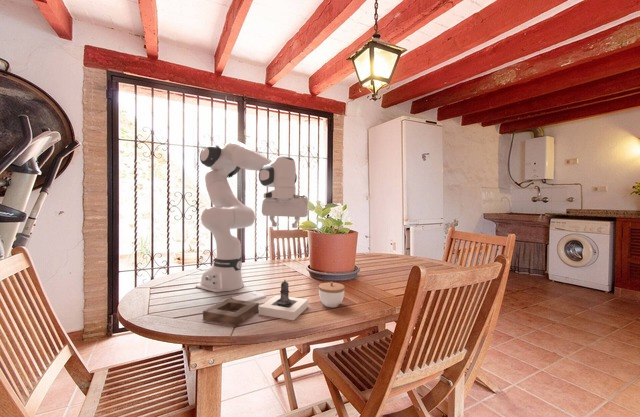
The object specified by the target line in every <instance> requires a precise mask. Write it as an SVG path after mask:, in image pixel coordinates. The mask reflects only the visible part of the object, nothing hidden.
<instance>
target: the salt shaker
mask: <svg viewBox="0 0 640 417" xmlns="http://www.w3.org/2000/svg"><path fill="white" fill-rule="evenodd" d="M283 280H284V281H282V282H281V283H280V291H279V292H280V296H281V298H280V299H279V300H277V303H278V306H281V307H287V308H290V306H291V303H292V300H290V299H289V297H290V296H289V294H290V291H289V290H290V289H289V283H288V281H286V279H283Z"/></svg>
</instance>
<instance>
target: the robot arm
mask: <svg viewBox="0 0 640 417" xmlns="http://www.w3.org/2000/svg"><path fill="white" fill-rule="evenodd" d="M199 161H200V163H201V164H202V165H204V166H205V167H208V168H210V170H209V171H207V172H206V173H205V177H204V180H205V187H206V190H207V194H208V196H209V200H210V202H211V203H212V205H214V206H210V207H206V208H204V210H203V211H202V213H201V217H200V221H201V224H202V225H203V227H205V229H207V230H208V231H210V233H211V234H212V235H213V238H214V239H215V246H216V257H215V258H214V259H212V260H211V262H212V264H213V265H212V266H211V267H209V268H208V269H207V270H205V271H204V272H203V273H202V276H201V279H200V280H201V281H198V283H196V284H195V288H198V289H202V290H205V291H206V290H207V291H209V292H213V293H221V292H227V291H228V292H230V291H235V290H239V289H240V290H241V289H242V288H244V286H245V285H244V282H243V274H242V266H243V265H242V264H243V263H242V261H243V259H242V255H241V254H242V249H241V248H242V242H241V241H240V239H239V238H238V237H236V236H235V235H232V233H231V229H232V230H236V229H238V230H239V229H246V228H248V227H251V226H252V225H253V224H254V222H255V220H256V214H255V211H254V209H253V208H251V207H249V206H248V205H245V204H243V203H242V201H240V200H239V199H238V198H237V197H236V195H235V194H234V193H233V191H232V189H231V186H230V184H229V181H228V179H229V178H232V177H233V176H235V175H237V174H238V173H239V172H240V170H241V169H243V170H248V171H256V172H257V171H258V180H259V182H260V184H261V185H262V186H264V187H267V188H274V189H273V190H270V191H267V192H265V193H264V194H263V198H264V199H263V200H262V204H261V214H262V215H263V216H267V217H269V220H270V221H271V227H272V228H273V227H275V228H277V227H278V222H277V221H275V217H286V218H287V217H288V218H289V217H292V218H294V220H295V221H294V222H292V224H291V228H293V229H296V228H297V227H298V222H300V218H307V216H308V215H309V212H308V211H309V210H308V209H309V208H308V203H309V199H308V197H307V196H306V195H305V194H296V183H297V178H298V177H297V168H296V162H295V159H294V158H292V157H288V156H283V155H279V156H276V157H275V159H274V160H271V159H268V158H267V157H265V156H263V155H262V154H260V153H259V152H257V151H256V150H254V149H252V148H251V147H250V146H247V145H246V144H245V143H242V142H240V141H236V140H230V141H228V142H226V143H225V145H224V146H223V147H220V146H219V145H207V146H205V147H203V149H201V151H200V154H199Z"/></svg>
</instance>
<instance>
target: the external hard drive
mask: <svg viewBox="0 0 640 417" xmlns="http://www.w3.org/2000/svg"><path fill="white" fill-rule="evenodd" d="M266 297H267V295H266V294H264V293H261V292H258V291H255V290H254V291H250V292H247V293H243V294H239V295H234V296H232V297H230V298H229V299H235V300H241V301H248V302H254V301H257V300H261V299H264V298H266Z"/></svg>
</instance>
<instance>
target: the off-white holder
mask: <svg viewBox="0 0 640 417" xmlns="http://www.w3.org/2000/svg"><path fill="white" fill-rule="evenodd" d="M288 297H289V299H290V300H292V303H291V306H290V307H289V308H287V307H281V306H278V303H277V300H279V299H280V298H281V294H280V295H278V294H276V295H274V296H273V297H272V298H270V299H268V300H267V301H265V302H264V303H262V304H261V305H260V306H259V311H258V315H260V316H266V317H271V318H278V319H284V320H290V321H295V320H296V319H297V318H298V317H299V316H300V315H301V314H302V313H303V312H304V311H305V310H306V309H307V308H309V299H306V298H299V297H293V296H288Z"/></svg>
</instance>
